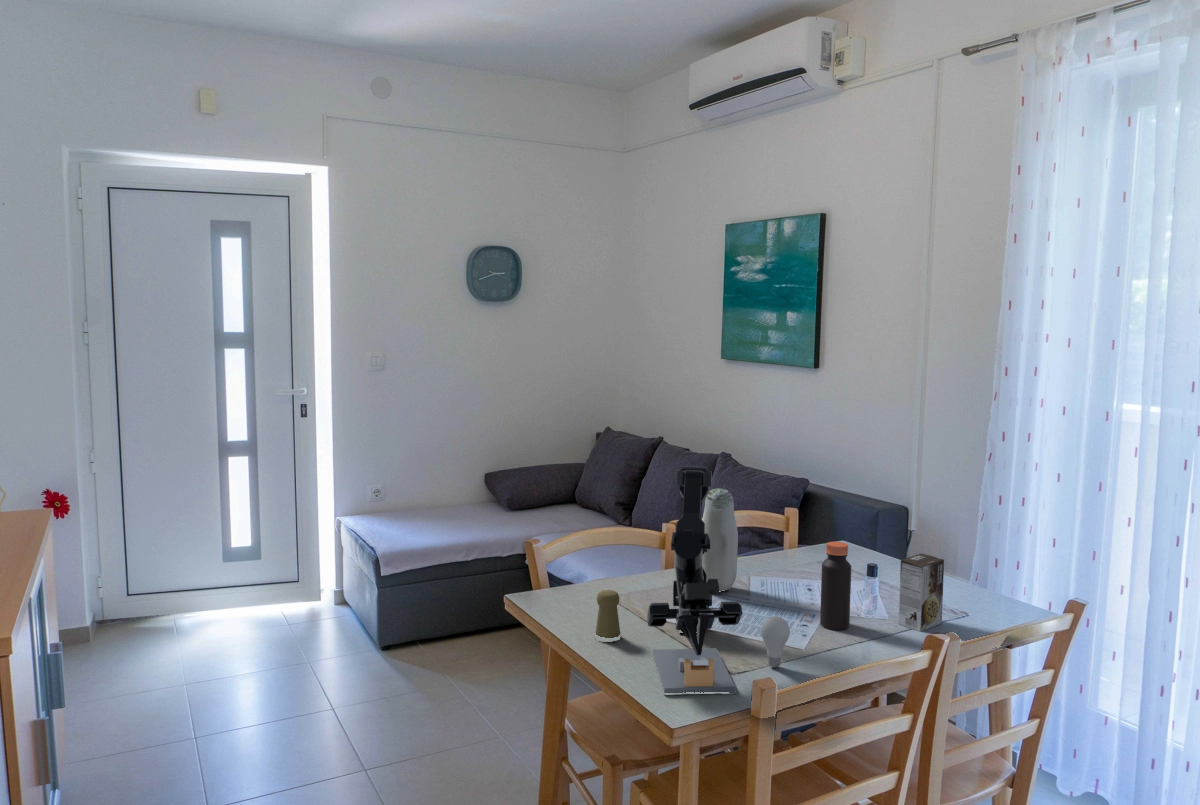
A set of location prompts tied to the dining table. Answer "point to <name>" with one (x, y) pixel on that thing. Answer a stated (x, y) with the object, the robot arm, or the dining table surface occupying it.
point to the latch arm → (699, 662)
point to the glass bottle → (720, 538)
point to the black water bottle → (835, 587)
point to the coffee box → (921, 592)
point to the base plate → (678, 677)
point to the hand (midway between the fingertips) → (699, 654)
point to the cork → (608, 614)
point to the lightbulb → (774, 638)
